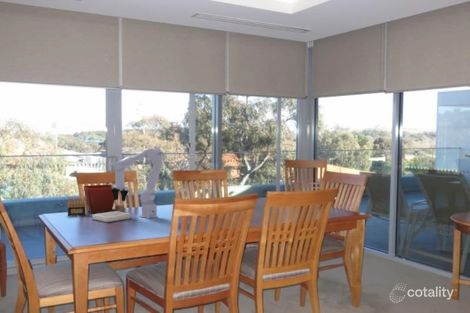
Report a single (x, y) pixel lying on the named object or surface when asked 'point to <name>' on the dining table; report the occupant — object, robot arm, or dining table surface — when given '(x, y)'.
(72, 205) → the ammunition clip
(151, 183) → the robot arm
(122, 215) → the tray
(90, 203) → the plant pot
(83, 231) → the dining table surface
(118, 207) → the walnut block
